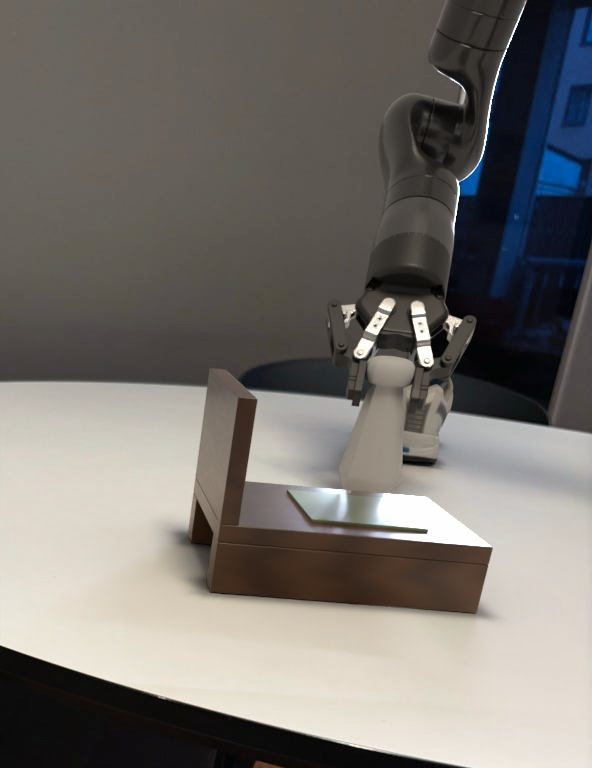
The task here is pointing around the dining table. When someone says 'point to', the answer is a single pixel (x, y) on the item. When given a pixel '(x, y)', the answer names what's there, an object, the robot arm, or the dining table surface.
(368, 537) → the l-shaped wooden stand
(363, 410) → the salt shaker
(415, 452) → the athletic shoe
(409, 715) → the dining table surface
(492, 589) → the dining table surface
